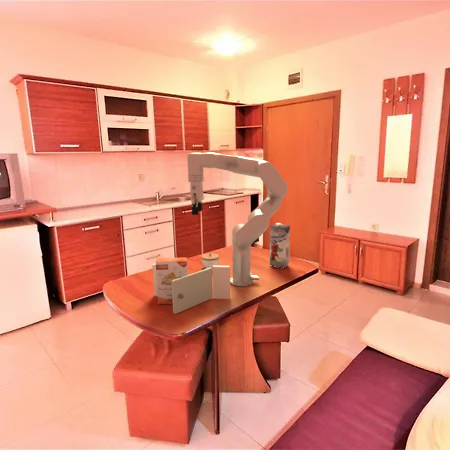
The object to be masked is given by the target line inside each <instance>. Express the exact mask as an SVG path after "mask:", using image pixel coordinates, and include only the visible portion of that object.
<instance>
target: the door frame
mask: <svg viewBox="0 0 450 450" xmlns="http://www.w3.org/2000/svg"><path fill="white" fill-rule="evenodd" d="M152 277H153V278H152V279H153V293H154V297H158V296H157V278H156V262H155V263H152ZM230 278H231V266H230V265H219V264H218V265H213V270H212V285H213V298H212V299H214V300H215V299H216V300H231V283H230Z"/></svg>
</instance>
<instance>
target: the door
mask: <svg viewBox="0 0 450 450" xmlns="http://www.w3.org/2000/svg"><path fill="white" fill-rule="evenodd" d="M211 299H214V298H213V270H212V268H211V267H210V268H207V269H205V268H204V269H202V270H201V269H200V270H198V271H196V272H193V273H188V275H186V276H183V277H181V278H178V279H175V280H172V300H173V304H172V313H173V314H174V315H177V314H178V313H180V312H183V311H185V310H188V309H190V308H192V307H195V306H197V305H200V304H202V303H204V302H206V301H209V300H211Z"/></svg>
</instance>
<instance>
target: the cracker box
mask: <svg viewBox="0 0 450 450" xmlns="http://www.w3.org/2000/svg"><path fill="white" fill-rule="evenodd" d="M188 261H189V260H188V257H157V258H156V261H155V264H156V278H157V296H156V297H157V305H173V300H172V280H175V279H178V278H181V277H183V276H186V275H189V266H188V265H189V263H188Z"/></svg>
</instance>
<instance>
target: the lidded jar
mask: <svg viewBox="0 0 450 450" xmlns="http://www.w3.org/2000/svg"><path fill="white" fill-rule="evenodd" d="M201 264H202V266H203V268H204V269H207V268H210V267H211V268H212V271H213V265H218V266H219V265H220V254H218V253H212V252H208V253H204V254H202V255H201Z"/></svg>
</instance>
